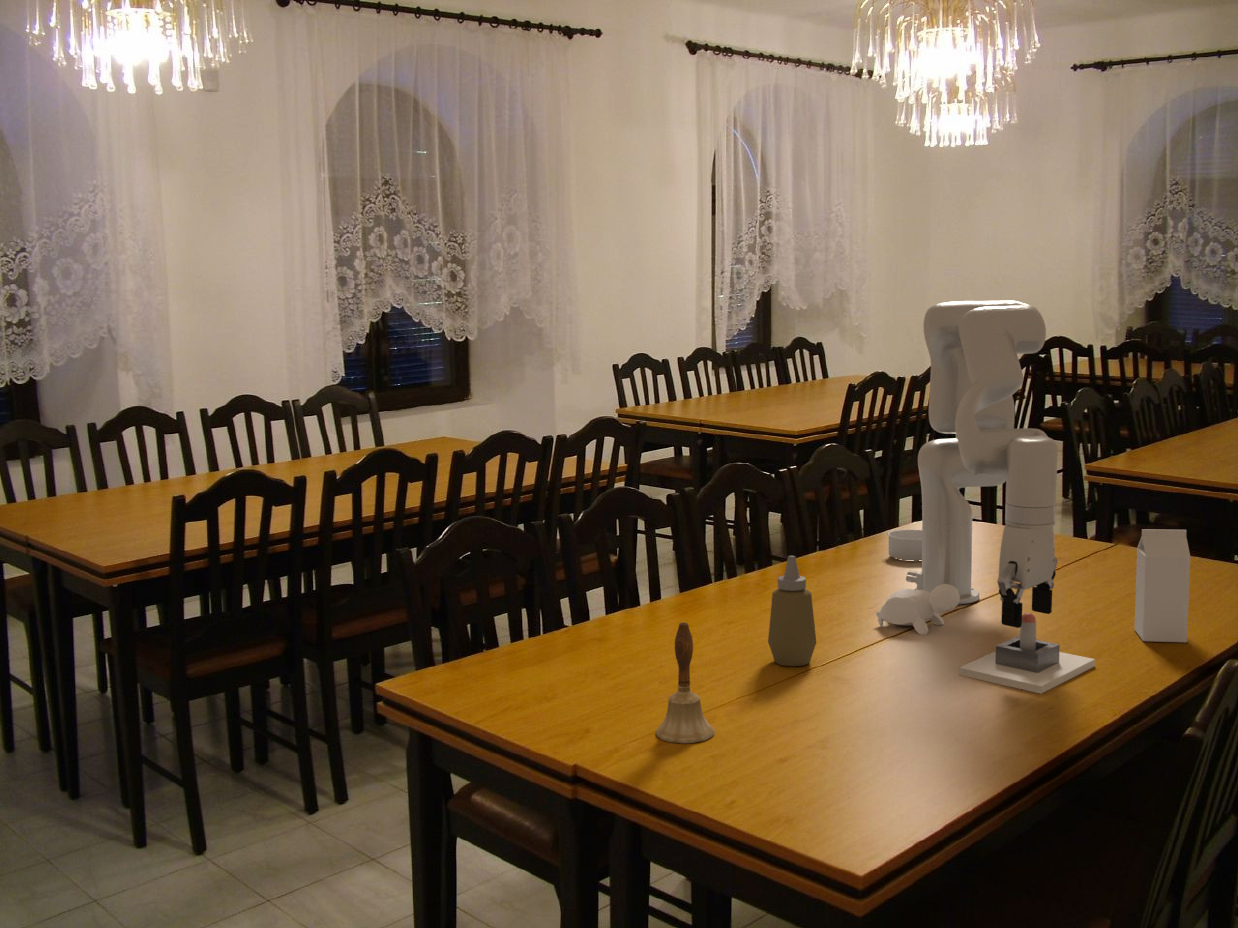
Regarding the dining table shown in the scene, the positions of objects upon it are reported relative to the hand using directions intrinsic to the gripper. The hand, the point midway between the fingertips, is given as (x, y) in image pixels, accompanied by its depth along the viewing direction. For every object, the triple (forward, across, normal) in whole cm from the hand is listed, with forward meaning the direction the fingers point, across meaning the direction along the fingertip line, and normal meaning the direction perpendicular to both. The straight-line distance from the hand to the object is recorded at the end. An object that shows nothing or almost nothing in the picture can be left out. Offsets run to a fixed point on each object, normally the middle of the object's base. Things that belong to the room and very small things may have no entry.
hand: (1026, 618), depth 198 cm
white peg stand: (+8, +1, +1) cm, 8 cm away
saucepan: (+11, -57, -53) cm, 79 cm away
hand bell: (+8, +58, -21) cm, 62 cm away
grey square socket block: (+7, +1, +1) cm, 7 cm away
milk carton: (+9, -31, +9) cm, 34 cm away
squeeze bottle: (+9, +22, -30) cm, 38 cm away
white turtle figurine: (+9, -10, -26) cm, 29 cm away
